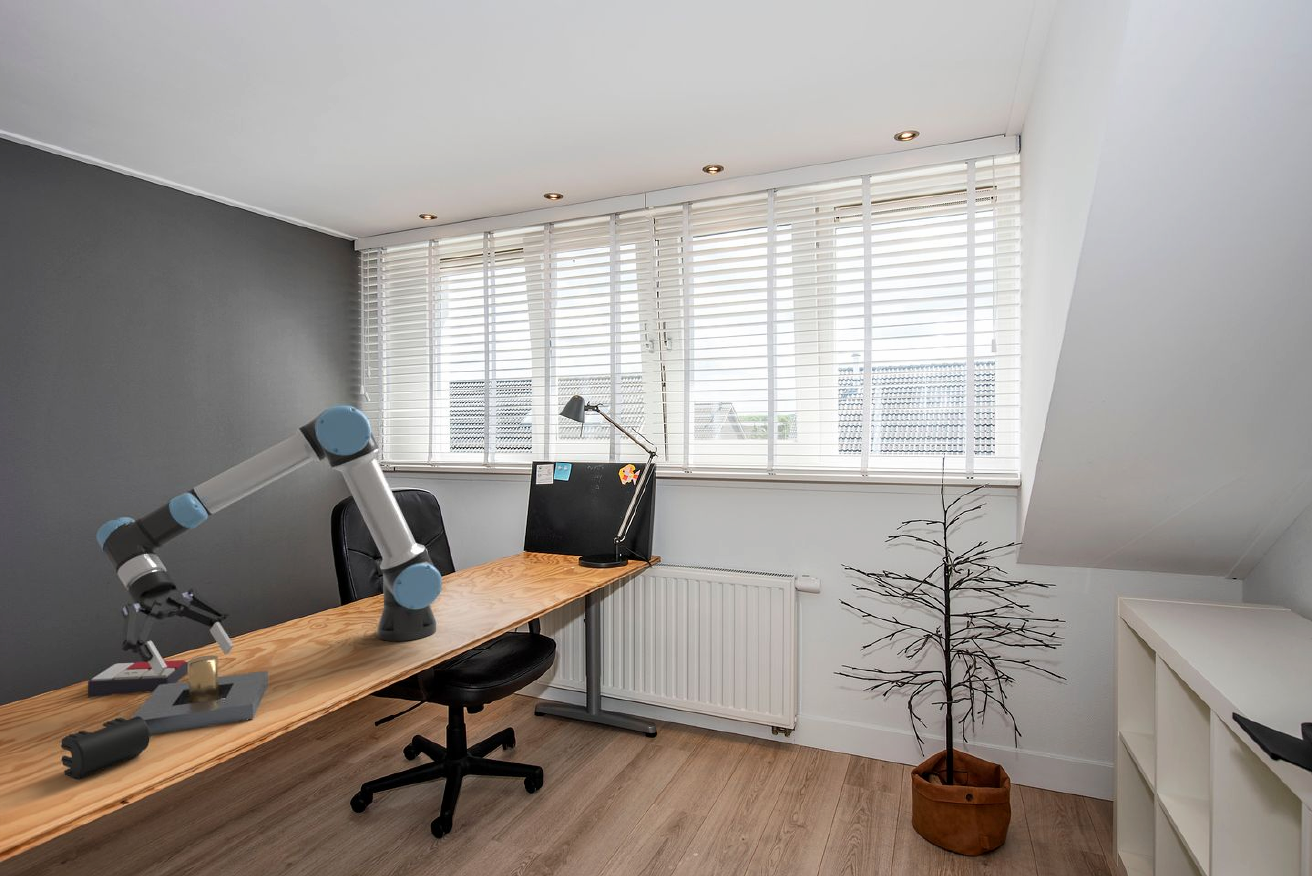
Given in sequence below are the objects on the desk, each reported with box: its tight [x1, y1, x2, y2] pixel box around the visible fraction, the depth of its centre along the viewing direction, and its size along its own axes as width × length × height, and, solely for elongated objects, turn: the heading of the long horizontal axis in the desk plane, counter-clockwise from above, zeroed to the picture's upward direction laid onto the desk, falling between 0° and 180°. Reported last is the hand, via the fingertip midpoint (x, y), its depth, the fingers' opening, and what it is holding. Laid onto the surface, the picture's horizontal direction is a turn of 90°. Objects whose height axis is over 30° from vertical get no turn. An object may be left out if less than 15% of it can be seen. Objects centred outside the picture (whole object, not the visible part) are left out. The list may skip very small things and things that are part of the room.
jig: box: [131, 670, 269, 736], centre depth 140 cm, size 20×20×3 cm
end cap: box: [60, 716, 151, 780], centre depth 116 cm, size 10×7×7 cm
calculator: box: [87, 659, 188, 698], centre depth 154 cm, size 11×4×15 cm
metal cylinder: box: [187, 655, 219, 704], centre depth 140 cm, size 5×5×10 cm
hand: (197, 660), depth 140 cm, fingers open, 13 cm apart
